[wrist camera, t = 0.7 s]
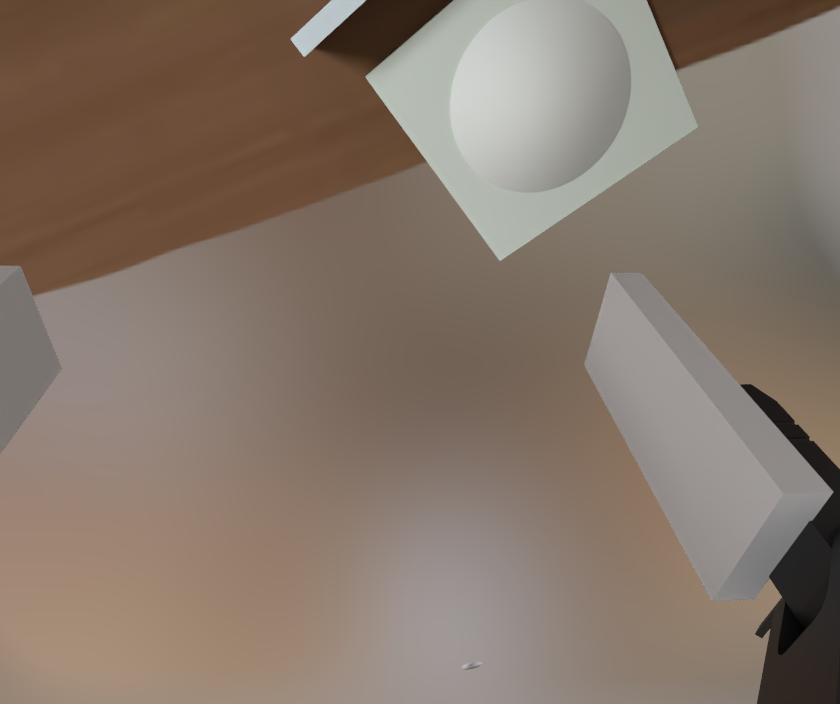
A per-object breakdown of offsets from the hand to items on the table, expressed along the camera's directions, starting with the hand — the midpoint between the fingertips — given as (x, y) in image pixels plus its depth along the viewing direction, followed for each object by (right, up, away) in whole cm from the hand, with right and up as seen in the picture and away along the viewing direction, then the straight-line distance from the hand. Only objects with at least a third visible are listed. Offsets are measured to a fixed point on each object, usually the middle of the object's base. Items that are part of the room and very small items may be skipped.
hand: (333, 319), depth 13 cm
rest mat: (+9, +15, +21) cm, 27 cm away
